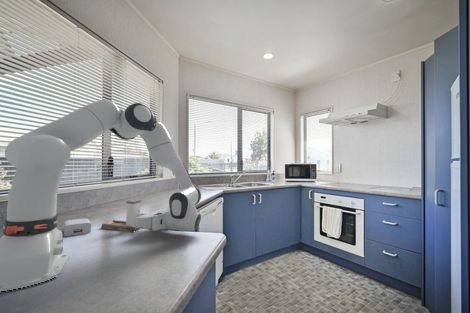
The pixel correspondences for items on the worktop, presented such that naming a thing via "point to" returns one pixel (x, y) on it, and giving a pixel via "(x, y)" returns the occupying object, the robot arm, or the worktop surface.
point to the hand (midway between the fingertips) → (138, 215)
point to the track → (119, 226)
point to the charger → (77, 227)
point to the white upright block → (132, 212)
